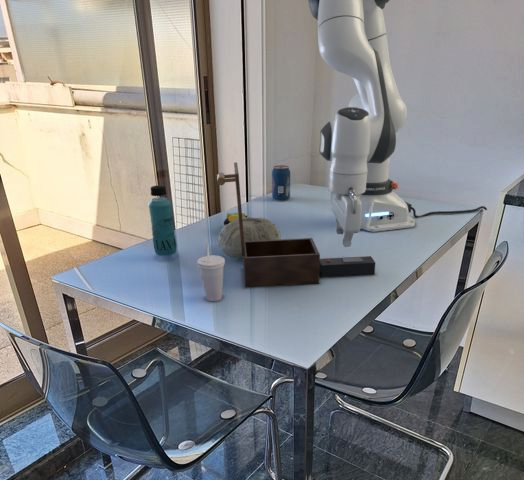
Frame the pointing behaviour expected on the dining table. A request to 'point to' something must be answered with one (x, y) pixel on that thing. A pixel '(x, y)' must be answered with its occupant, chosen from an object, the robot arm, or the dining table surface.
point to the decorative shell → (245, 234)
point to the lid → (221, 181)
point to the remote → (346, 266)
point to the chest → (281, 262)
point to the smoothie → (212, 275)
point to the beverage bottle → (162, 222)
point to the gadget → (232, 217)
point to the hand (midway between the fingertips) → (343, 239)
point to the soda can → (281, 183)
